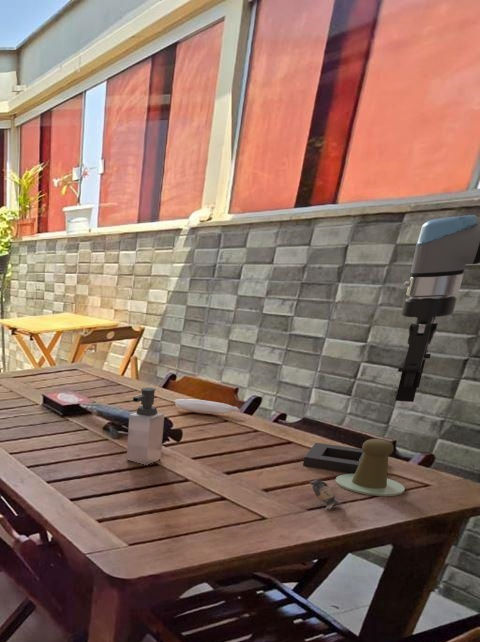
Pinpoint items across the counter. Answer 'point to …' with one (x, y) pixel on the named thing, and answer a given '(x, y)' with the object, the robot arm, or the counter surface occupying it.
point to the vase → (324, 493)
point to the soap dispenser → (145, 430)
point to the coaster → (390, 490)
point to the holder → (320, 459)
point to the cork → (373, 464)
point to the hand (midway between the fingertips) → (407, 393)
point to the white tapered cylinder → (204, 406)
